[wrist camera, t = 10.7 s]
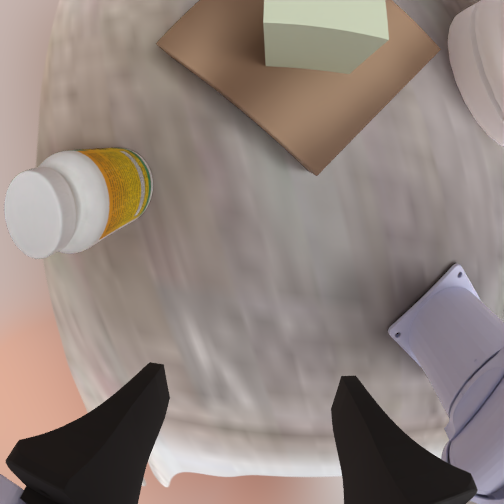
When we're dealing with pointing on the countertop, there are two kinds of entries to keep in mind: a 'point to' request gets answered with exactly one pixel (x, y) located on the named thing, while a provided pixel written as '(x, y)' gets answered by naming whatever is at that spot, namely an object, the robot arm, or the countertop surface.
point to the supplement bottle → (76, 200)
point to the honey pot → (480, 63)
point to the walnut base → (295, 76)
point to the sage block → (323, 33)
